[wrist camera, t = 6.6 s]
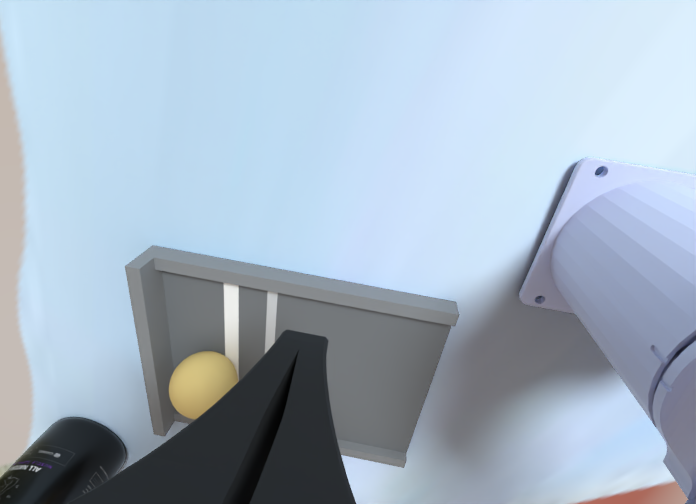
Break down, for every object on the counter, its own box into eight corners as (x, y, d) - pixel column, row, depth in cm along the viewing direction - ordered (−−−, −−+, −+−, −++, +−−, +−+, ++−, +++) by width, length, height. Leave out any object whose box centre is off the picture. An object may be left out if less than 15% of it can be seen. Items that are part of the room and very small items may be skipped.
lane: (455, 302, 21) (463, 330, 19) (403, 452, 27) (404, 486, 25) (152, 245, 22) (124, 266, 19) (172, 405, 28) (153, 434, 26)
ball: (146, 370, 21) (205, 327, 24) (168, 404, 24) (220, 363, 26) (183, 412, 19) (244, 362, 22) (203, 445, 22) (256, 396, 24)
